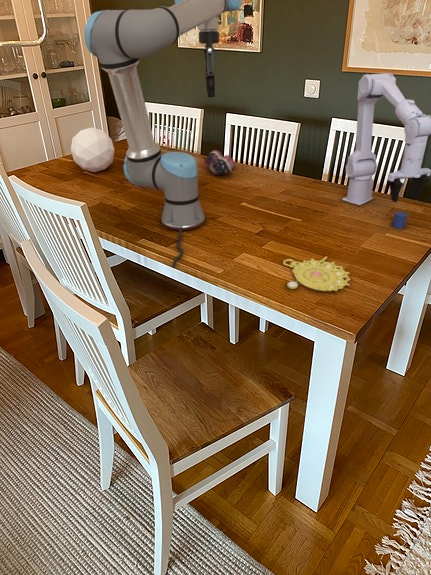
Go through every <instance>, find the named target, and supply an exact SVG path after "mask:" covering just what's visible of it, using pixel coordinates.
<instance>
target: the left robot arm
mask: <svg viewBox="0 0 431 575" xmlns="http://www.w3.org/2000/svg"><path fill="white" fill-rule="evenodd" d="M242 5H243V0H174V4H173V5H171V6H169V7H168V6H164V5H163V6H158V7H156V8H153V9H105V10H104V9H103V10H99V11H95V12H93V13H92V14H90V16H89V17H88V18H87V20H86V24H85V26H84V29H83V30H84V32H83V36H84V38H83V39H84V43H85V47H86V48H87V50H88V52H89V53H90V54H91V55H92V56H94V57H96V58H97V59H98V61H99V64H100V68H101V69H102V70H103V71H105V72H106V73H107V74H108V77H109V82H110V85H111V88H112V93H113V95H114V98H115V102H116V106H117V109H118V113H119V117H120V119H121V120H120V121H121V124H122V127H123V130H124V134H125V138H126V141H127V146H128V149H127V150H126V156H125V157H124V160H123V162H124V164H123V173H124V175H125V177H126V179H127V181H128V182H130V183H131V184H132V185H135V186H137V187H140V188H146V189H151V190H155V191H160V192H163V194H164V204H163V207H162V210H161V212H162V213H161V219H160V220H161V225H162V227H163V228H165V229H167V230H170V231H175V232H176V231H177V232H178V237H177V241H176V247H177V249H178V250H179V254H178V255H177V256H176V257H174V259H173V261H172V266H171V268H172V269H175V268H176V263H177V261H178V260H179V259H181V257H183V255H184V251H183V248H181V246H180V242H181V238H182V235H183V234H182V233H183V232H185V231H186V232H187V231H192V230H195V229H198V228H201V227H202V226H203V225H204V224H205V223H206V215H205V212H204V210H203V208H202V204H201V202H200V196H199V175H198V174H199V170H198V164H197V163H198V162H197V160H196V158H195V157H194V156H193V155H191V154H189V153H187V152H184V151H168V152H164V153H163V154H162V149H161V146H160V144H159V143H157V142H155V139H154V134H153V131H152V127H151V123H150V119H149V113H148V110H147V106H146V102H145V98H144V94H143V90H142V89H143V88H142V85H141V81H140V76H139V74H138V69H137V67H138V64H139V62H140V60H141V59H144V58H147V57H150V56H152V55H155V54H157V53H159V52H162V51H163V50H165V49H167V48H169V47H170V46H172V45H175V44H176V43H177V42H178V40H179V38H180V37H181V36H183V35H184V34H186V33H188V32H190V31H191V30H194V29H195V28H197V30H198V43H199V44H202V45H204V47H205V48H203V55H204V61H205V76H204V78H205V81H206V82H205V83H206V92H207V98H216V86H215V85H216V84H215V76H216V74H215V54H216V49H215V47H214V46H213V44H218V43H220V32H219V29H220V24H221V19H219V16H220V15H222V14H224V13H227V12H230V13H232V12H238V11H239V10H240V8H241V7H242Z"/></svg>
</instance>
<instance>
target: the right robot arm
mask: <svg viewBox="0 0 431 575" xmlns="http://www.w3.org/2000/svg"><path fill="white" fill-rule="evenodd" d="M381 98H385V99H386V100H387V101H388V102H389V103H390V104H391V105H392V106H393V107H394V108H395V109H394V114H395V116H396V117H397V118H398V120H399V121H400V122H401V124H402V125H403V126H404V127H403V128H404V129H403V131H404V136H405V138H404V142H405V146H404V151H403V155H402V160H401V165H400V169H398V170H397V171H394V172H390V173H387V179H386V181H387V183H388V186H389V190H390V200H391V201H392V202H393V203H397V202H398V200H399V198H400V194H401V190H402V188H403V187H404V185H405V183H404V182H402V181H401V180H404V179H405V180H406V179H412V186H411V190H410V191H411V192H410V197H411V198H412V199H414V200H417V199H418V197H419V195H420V194H421V191H422V190H423V188H424V187H425V186H426V185H427V184H428V182H429V181H430V177H429V176H431V169H430V168H428V167H423V168H422V164H423V160H424V156H425V151H426V147H427V142H428V139H429V136H431V115H429V114H428V115H427V114H425V113H423V111H422V110H420V108H419V107H418V106H417V105H416V104H415V103H416V102H415V100H413V99H406V98H405V96H404V95H403V94H402V91H401V90H400V88H399V87H398V86H397V77H395V76H394V75H393V73H391V72H385V73H372V74H368V73H366V74H363V76H362V77H361V78H360V79H359V81H358V85H357V101H358V104H357V120H356V133H355V134H356V136H355V150H354V151H353V152H352V153H351V154H350V155H348V157H347V162H346V166H345V174H346V175H347V178H349V180H348V187H347V194H346V196H344V197H343V198H342V199H341V201H343V202H346V203H350V204H353V205H357V206H361V205H364V204H367V203H368V202H370V201H371V200H374V197H372V194H373V189H374V179H373V176H374V175H375V174H376V173H377V169H378V164H377V155H376V154H375V153H374V152H373V151H372V141H373V140H372V139H373V130H374V128H373V127H374V126H373V125H374V116H375V114H374V113H375V104H376V103H377V102H378V101H379V100H380V99H381Z"/></svg>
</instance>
